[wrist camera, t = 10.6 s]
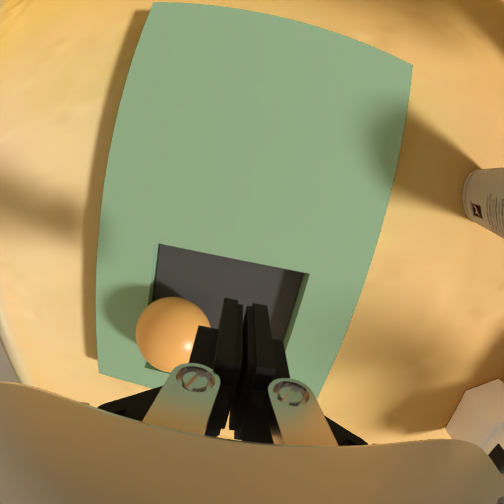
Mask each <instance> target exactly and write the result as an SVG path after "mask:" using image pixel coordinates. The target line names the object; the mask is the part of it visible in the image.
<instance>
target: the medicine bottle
mask: <svg viewBox="0 0 504 504" xmlns="http://www.w3.org/2000/svg"><path fill="white" fill-rule="evenodd" d="M445 429H446V431H447V432H448V434H449V435H450V437H451V438H452V439H456V440H462V441H467V442H470V443H473V444H476V445H478V446H479V447H480V448H482V449H483V450H484V451H485V453H486V454H487V455H488V456H489V457H490V459H491V460H492V461H493V463H494V464H495V466H496V467H497V469H498V470H499V472H500V473H501V474H502V473H504V383H503V382H502V381H501V380H500V379H496V380H493V381H491V382H488V383H485V384H483V385H480V386H477V387H474V388H472V389H469V390H466V391H465V393H464V395H463V397H462V399H461V401H460V403H459V405H458V407H457V408H456V410H455V412H454V414H453V416H452V417H451V419H450V421H449V423H448V424H447V426H446V428H445Z"/></svg>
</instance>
